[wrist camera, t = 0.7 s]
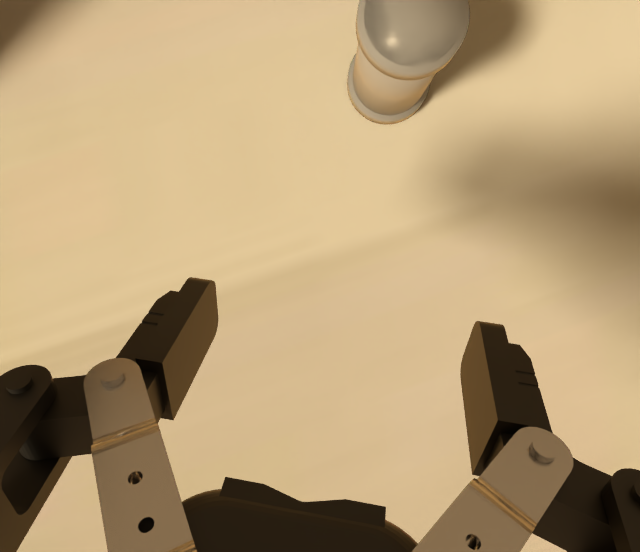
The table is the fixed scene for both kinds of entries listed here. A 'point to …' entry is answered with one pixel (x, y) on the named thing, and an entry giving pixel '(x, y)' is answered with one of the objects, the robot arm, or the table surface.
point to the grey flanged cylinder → (402, 53)
